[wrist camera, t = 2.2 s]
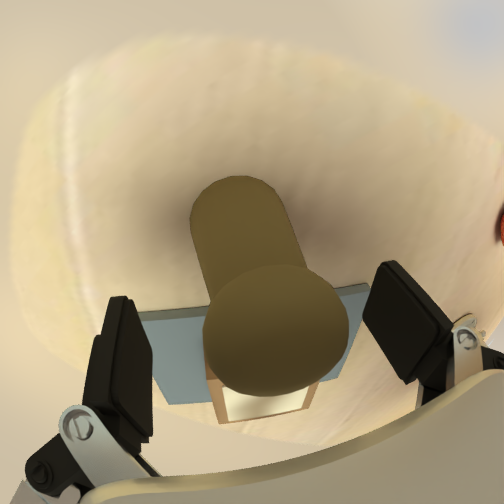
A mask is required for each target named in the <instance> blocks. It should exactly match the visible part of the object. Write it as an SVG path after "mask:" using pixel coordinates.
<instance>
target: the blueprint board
mask: <svg viewBox="0 0 504 504" xmlns="http://www.w3.org/2000/svg"><path fill="white" fill-rule="evenodd" d="M334 290H335V292H336V293H337V295H338V296H339V298H340V299H341V301H342V303H343V305H344V306H345V308H346V311H347V315H348V319H349V339H348V346H347V348H346V350H345V353H344V355H343V357H342V359H341V360H340V361H339V362H338V363H337V364H336V365H335V367H334V368H333V369H332V370H331V371H330V372H329V373H328V374H327V375H325V376H324V377H323V378H321V379H320V381H319V383H320V382H323V381H327V380H331V379H335V378H338V376H339V374H340V371H341V369H342V367H343V365H344V363H345V360H346V358H347V356H348V353H349V351H350V349H351V346H352V344H353V341H354V339H355V336H356V334H357V331H358V329H359V326H360V324H361V321H362V313H363V310H364V307H365V304H366V302H367V299H368V296H369V293H370V290H371V288H370V287H369V285H368V284H367V283H366V284H360V285H355V286H349V287H344V288H338V289H334ZM208 308H209V306H207V307H198V308H188V309H177V310H165V311H153V312H139V313H138V315H139V318H140V320H141V323H142V325H143V328H144V330H145V333H146V335H147V338H148V340H149V343H150V345H151V347H152V352H153V370H152V375H153V377H154V379H155V381H156V383H157V385H158V386H159V388H160V390H161V392H162V394H163V395H164V397H165V399H166V401H167V402H168V404H169V405H173V404H190V403H203V402H212V399H211V395H210V392H209V388H208V384H207V380H206V371H205V361H204V350H203V339H202V338H203V335H202V328H203V324H204V320H205V317H206V314H207V311H208Z"/></svg>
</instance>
